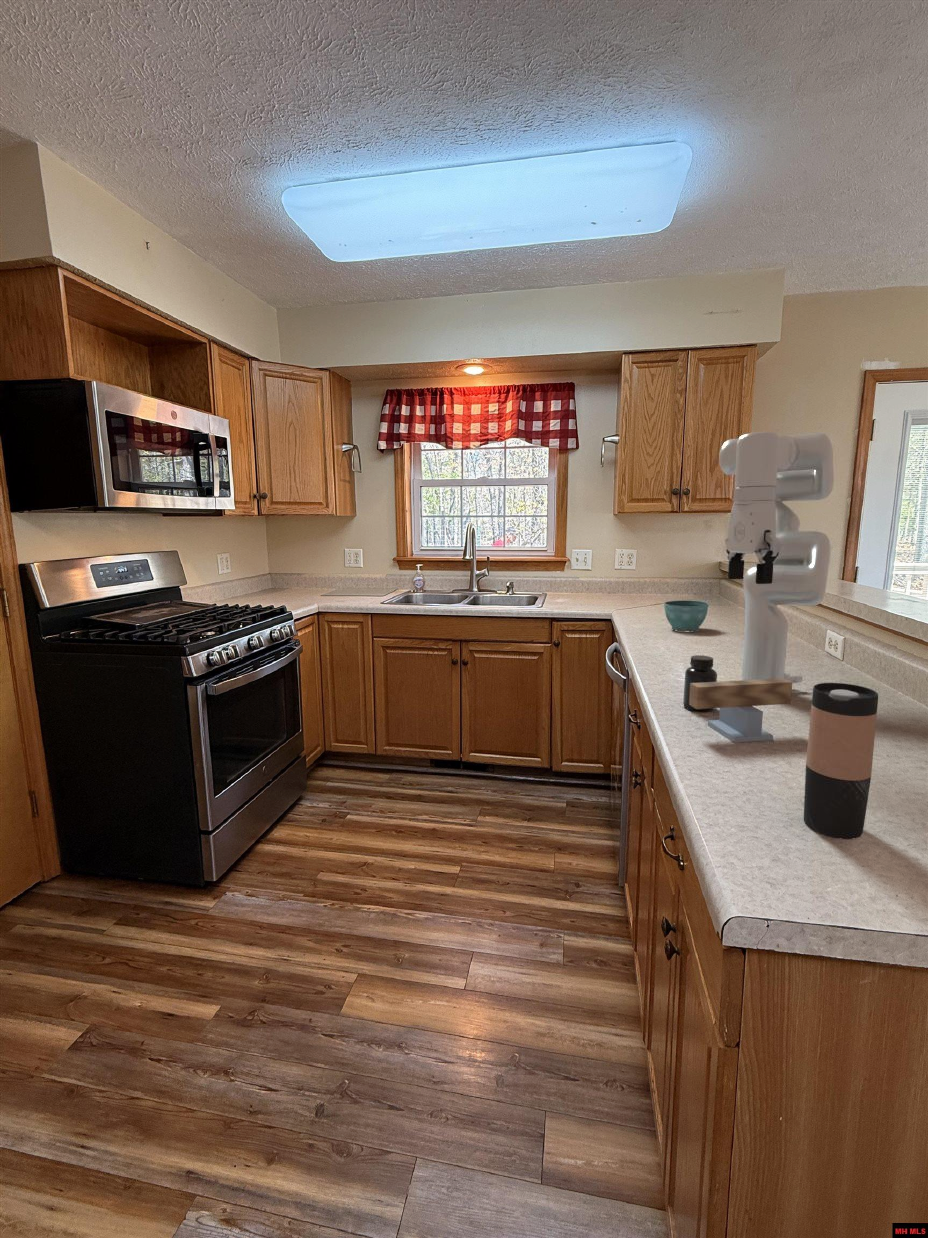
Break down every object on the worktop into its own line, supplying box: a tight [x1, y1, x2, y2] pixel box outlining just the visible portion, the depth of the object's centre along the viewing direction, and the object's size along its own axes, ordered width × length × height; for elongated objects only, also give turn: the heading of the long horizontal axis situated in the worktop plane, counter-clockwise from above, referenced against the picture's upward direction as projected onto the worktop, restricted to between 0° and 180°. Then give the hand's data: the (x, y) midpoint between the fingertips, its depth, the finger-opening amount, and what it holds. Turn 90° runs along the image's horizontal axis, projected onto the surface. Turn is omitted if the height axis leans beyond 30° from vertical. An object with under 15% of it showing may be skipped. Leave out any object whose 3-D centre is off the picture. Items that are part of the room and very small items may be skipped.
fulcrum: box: [707, 706, 774, 744], centre depth 118 cm, size 8×10×6 cm
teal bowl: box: [663, 599, 709, 633], centre depth 225 cm, size 16×16×11 cm
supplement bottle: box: [682, 654, 718, 713], centre depth 133 cm, size 7×7×12 cm
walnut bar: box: [689, 678, 793, 709], centre depth 117 cm, size 20×3×4 cm, turn 96°
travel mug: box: [803, 682, 879, 840], centre depth 80 cm, size 8×8×20 cm
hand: (749, 581), depth 119 cm, fingers open, 9 cm apart
